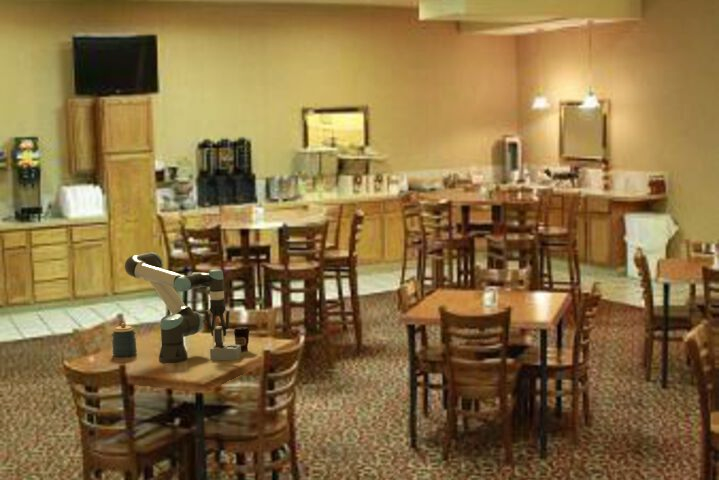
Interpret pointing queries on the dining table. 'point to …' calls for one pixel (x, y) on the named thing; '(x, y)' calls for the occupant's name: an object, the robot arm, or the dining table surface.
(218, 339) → the plug
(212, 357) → the socket box
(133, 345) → the canister
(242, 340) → the coffee cup
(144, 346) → the dining table surface
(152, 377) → the dining table surface
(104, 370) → the dining table surface
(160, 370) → the dining table surface
